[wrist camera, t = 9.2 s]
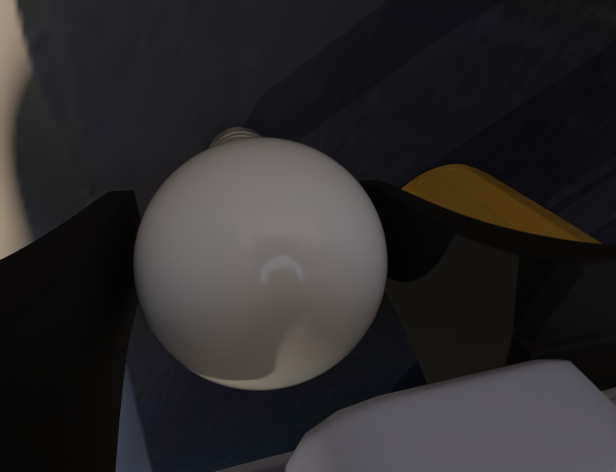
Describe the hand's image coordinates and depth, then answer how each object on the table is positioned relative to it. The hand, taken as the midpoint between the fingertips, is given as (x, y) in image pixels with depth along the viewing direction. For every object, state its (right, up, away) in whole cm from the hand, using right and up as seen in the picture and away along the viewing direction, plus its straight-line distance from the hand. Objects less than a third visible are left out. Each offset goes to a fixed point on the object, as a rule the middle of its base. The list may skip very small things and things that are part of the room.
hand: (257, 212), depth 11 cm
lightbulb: (-2, +3, +4) cm, 6 cm away
